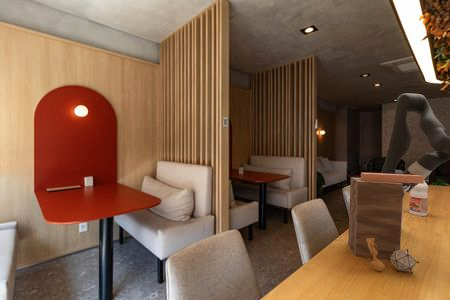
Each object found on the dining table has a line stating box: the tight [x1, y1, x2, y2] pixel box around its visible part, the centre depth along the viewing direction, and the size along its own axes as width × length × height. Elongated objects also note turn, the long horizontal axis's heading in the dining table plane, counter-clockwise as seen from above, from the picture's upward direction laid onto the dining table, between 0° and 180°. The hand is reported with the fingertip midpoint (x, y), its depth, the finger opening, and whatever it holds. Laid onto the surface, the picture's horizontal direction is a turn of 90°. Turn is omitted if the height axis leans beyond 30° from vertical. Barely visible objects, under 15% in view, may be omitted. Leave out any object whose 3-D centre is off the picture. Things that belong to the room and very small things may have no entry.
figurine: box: [366, 238, 385, 272], centre depth 86 cm, size 8×6×12 cm
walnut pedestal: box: [347, 176, 404, 262], centre depth 99 cm, size 12×16×32 cm
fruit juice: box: [408, 179, 429, 217], centre depth 154 cm, size 9×9×28 cm
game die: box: [387, 248, 421, 274], centre depth 85 cm, size 9×8×10 cm
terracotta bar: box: [360, 172, 425, 184], centre depth 96 cm, size 4×22×3 cm, turn 75°
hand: (390, 195), depth 114 cm, fingers open, 8 cm apart
